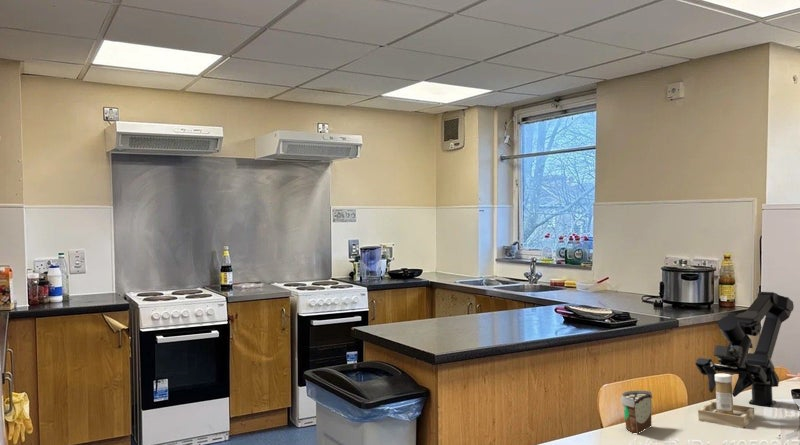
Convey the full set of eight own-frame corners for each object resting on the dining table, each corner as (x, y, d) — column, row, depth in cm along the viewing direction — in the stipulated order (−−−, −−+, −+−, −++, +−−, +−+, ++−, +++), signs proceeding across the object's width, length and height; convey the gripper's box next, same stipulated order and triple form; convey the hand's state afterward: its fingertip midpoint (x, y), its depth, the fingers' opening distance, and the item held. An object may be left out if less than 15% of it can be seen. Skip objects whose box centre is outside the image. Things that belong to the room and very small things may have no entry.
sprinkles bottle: (735, 419, 181) (733, 374, 181) (732, 423, 177) (729, 377, 178) (718, 416, 184) (716, 372, 184) (714, 420, 180) (712, 375, 181)
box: (711, 411, 190) (710, 401, 190) (754, 417, 182) (754, 407, 182) (698, 420, 181) (698, 410, 181) (743, 428, 173) (742, 417, 173)
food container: (633, 421, 183) (631, 387, 183) (653, 425, 178) (652, 391, 179) (614, 431, 174) (612, 396, 174) (635, 436, 170) (633, 400, 170)
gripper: (696, 331, 191) (680, 372, 184) (760, 338, 176) (745, 383, 169) (710, 353, 195) (694, 394, 188) (773, 361, 181) (759, 406, 174)
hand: (721, 393), depth 180 cm, fingers open, 6 cm apart
